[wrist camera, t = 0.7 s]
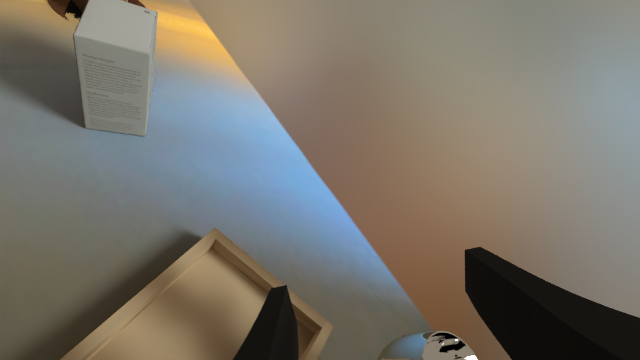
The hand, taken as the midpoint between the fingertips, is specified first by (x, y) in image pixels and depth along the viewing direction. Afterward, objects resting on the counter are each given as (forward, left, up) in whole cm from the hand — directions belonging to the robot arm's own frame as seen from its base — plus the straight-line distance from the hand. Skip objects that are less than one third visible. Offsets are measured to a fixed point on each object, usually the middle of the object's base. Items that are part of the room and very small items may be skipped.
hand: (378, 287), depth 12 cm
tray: (-1, +4, -18) cm, 18 cm away
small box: (+11, +29, -18) cm, 36 cm away
